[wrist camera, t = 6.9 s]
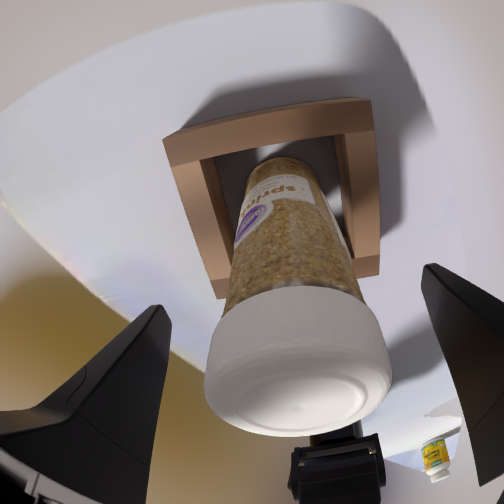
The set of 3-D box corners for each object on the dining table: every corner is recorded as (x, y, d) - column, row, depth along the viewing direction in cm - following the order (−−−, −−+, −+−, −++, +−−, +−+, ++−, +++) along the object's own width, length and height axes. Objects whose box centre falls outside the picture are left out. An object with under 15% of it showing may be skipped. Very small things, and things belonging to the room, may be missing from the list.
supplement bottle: (427, 447, 44) (435, 483, 36) (416, 446, 43) (423, 485, 35) (447, 436, 41) (456, 473, 33) (437, 435, 40) (446, 475, 32)
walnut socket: (366, 248, 19) (379, 274, 17) (223, 271, 21) (216, 299, 18) (353, 97, 14) (370, 100, 11) (179, 129, 16) (162, 139, 13)
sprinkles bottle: (264, 142, 16) (250, 319, 4) (333, 177, 17) (435, 373, 5) (232, 208, 18) (179, 421, 7) (297, 237, 19) (322, 448, 8)
